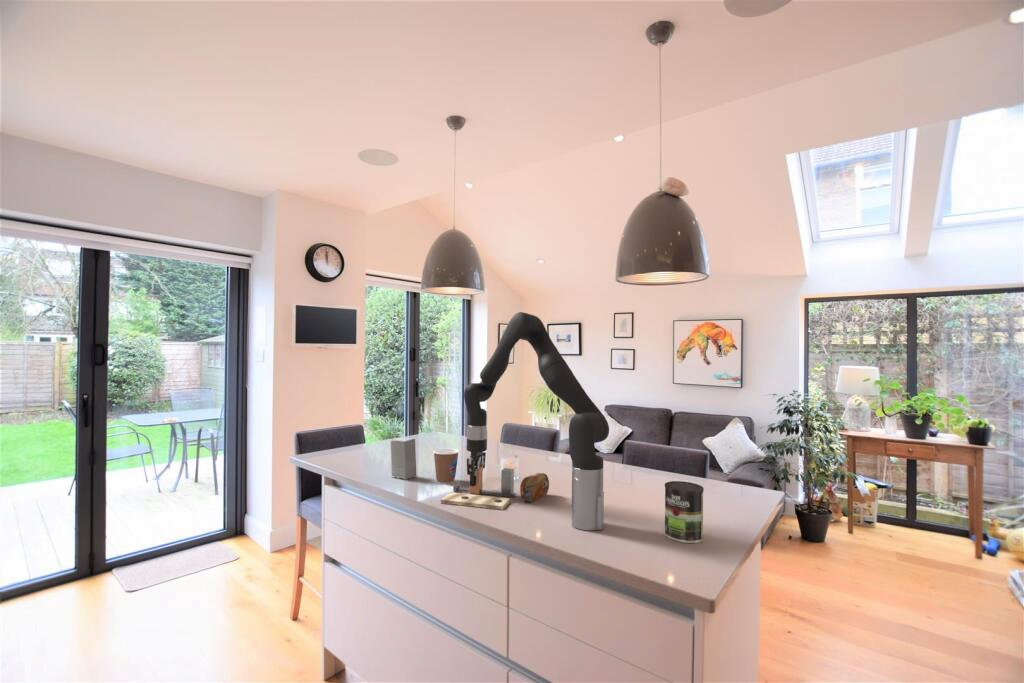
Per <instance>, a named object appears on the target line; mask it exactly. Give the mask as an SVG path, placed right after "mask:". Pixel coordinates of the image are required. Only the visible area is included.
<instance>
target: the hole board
mask: <svg viewBox="0 0 1024 683" xmlns="http://www.w3.org/2000/svg"><path fill="white" fill-rule="evenodd" d="M440 502H441V503H440V504H443V503H449V504H448V505H452V504H458V505H457V506H462V505H465V506H464V507H471V506H474V507H473V508H480V507H483V509H489V508H491V509H492V510H498V509H501V510H502V511H503V510H504V509H505V508H506V507H507V506H508V505H509V504H510V503H511V498H508V497H501V496H492V495H482V494H472V493H463V492H450V493H448V494H447V495H445V496H443V497H442V498H441V499H440ZM491 509H490V510H491Z"/></svg>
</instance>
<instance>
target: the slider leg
mask: <svg viewBox="0 0 1024 683" xmlns="http://www.w3.org/2000/svg"><path fill="white" fill-rule="evenodd" d="M475 467H476V466H475ZM483 472H484V468H483V466H479V469H478V470H477V474H476V486H470V485H469V489H470V493H469V494H472V495H481V494H480V490H483V475H484V474H483Z"/></svg>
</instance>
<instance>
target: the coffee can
mask: <svg viewBox="0 0 1024 683" xmlns="http://www.w3.org/2000/svg"><path fill="white" fill-rule="evenodd" d="M704 489H705V488H704V486H703V485H700V484H698V483H693V482H689V481H682V480H680V481H679V480H672V481H667V482H665V483H664V491H665V492H664V495H665V496H664V500H665V501H664V508H665V509H664V536H665V537H667V538H668V539H670V540H672V541H673V542H678V543H683V544H699V543H701V542H703V541H704Z"/></svg>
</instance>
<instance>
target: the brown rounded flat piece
mask: <svg viewBox="0 0 1024 683" xmlns="http://www.w3.org/2000/svg"><path fill="white" fill-rule="evenodd" d="M519 489H520V491H519V494H520V497H521V499H522V500H523V501H524V502H528V503H534V502H536V501H538V500H540V499H543V498H545V496H546V495H548V493H549V489H550V480H549V477H548V475H547V474H546V473H544V472H543V473H542V472H537V473H535V474H532V475H528V476H526V477H524V478H523V479H522V481H521V482H520V487H519ZM542 497H543V498H542ZM535 500H536V501H535Z"/></svg>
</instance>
